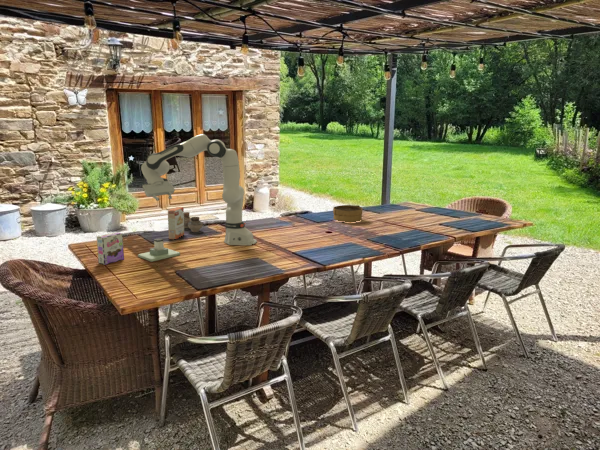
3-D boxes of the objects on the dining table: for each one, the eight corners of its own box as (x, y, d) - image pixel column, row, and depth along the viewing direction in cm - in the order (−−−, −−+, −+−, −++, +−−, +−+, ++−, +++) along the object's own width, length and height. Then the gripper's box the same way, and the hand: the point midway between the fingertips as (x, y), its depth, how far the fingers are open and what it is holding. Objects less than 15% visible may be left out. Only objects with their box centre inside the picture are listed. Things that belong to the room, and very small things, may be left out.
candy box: (104, 265, 270) (102, 237, 267) (98, 263, 273) (95, 236, 270) (124, 259, 282) (122, 232, 278) (118, 257, 285) (116, 231, 281)
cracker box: (176, 239, 328) (175, 210, 323) (168, 239, 329) (166, 210, 324) (185, 235, 341) (183, 207, 337) (177, 234, 343) (176, 206, 338)
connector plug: (160, 252, 292) (159, 238, 290) (164, 253, 290) (163, 239, 288) (154, 253, 289) (153, 239, 287) (158, 254, 287) (157, 240, 285)
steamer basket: (331, 222, 389) (331, 209, 387) (334, 217, 413) (334, 204, 411) (361, 224, 385) (362, 211, 383) (362, 218, 409) (363, 206, 407)
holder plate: (166, 250, 302) (166, 243, 301) (180, 254, 292) (179, 247, 291) (138, 256, 287) (137, 249, 286) (151, 261, 278) (151, 254, 277)
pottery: (190, 225, 372) (189, 211, 369) (205, 231, 353) (205, 216, 351) (177, 227, 365) (176, 212, 362) (192, 233, 346) (191, 218, 344)
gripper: (142, 181, 301) (151, 198, 297) (170, 178, 316) (179, 194, 311) (139, 187, 305) (148, 204, 300) (167, 184, 320) (175, 200, 315)
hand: (164, 199), depth 306 cm, fingers open, 8 cm apart
